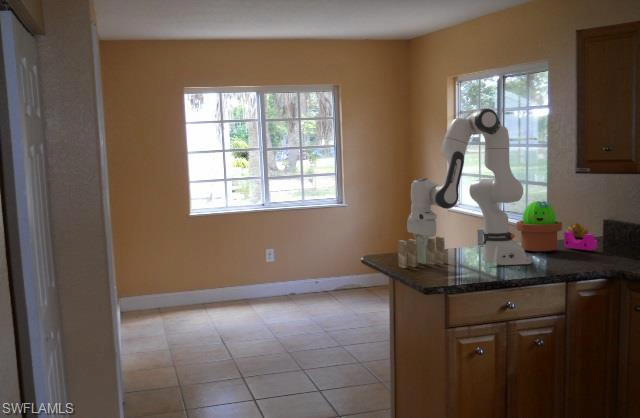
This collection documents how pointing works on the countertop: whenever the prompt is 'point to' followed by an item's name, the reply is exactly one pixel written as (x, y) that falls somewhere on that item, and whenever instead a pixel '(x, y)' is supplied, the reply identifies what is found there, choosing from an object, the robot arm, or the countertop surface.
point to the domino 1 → (412, 253)
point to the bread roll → (578, 230)
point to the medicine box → (480, 236)
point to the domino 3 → (440, 250)
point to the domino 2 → (431, 251)
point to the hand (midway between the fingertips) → (421, 244)
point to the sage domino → (421, 250)
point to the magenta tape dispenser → (580, 241)
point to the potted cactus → (539, 227)
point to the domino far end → (402, 253)
